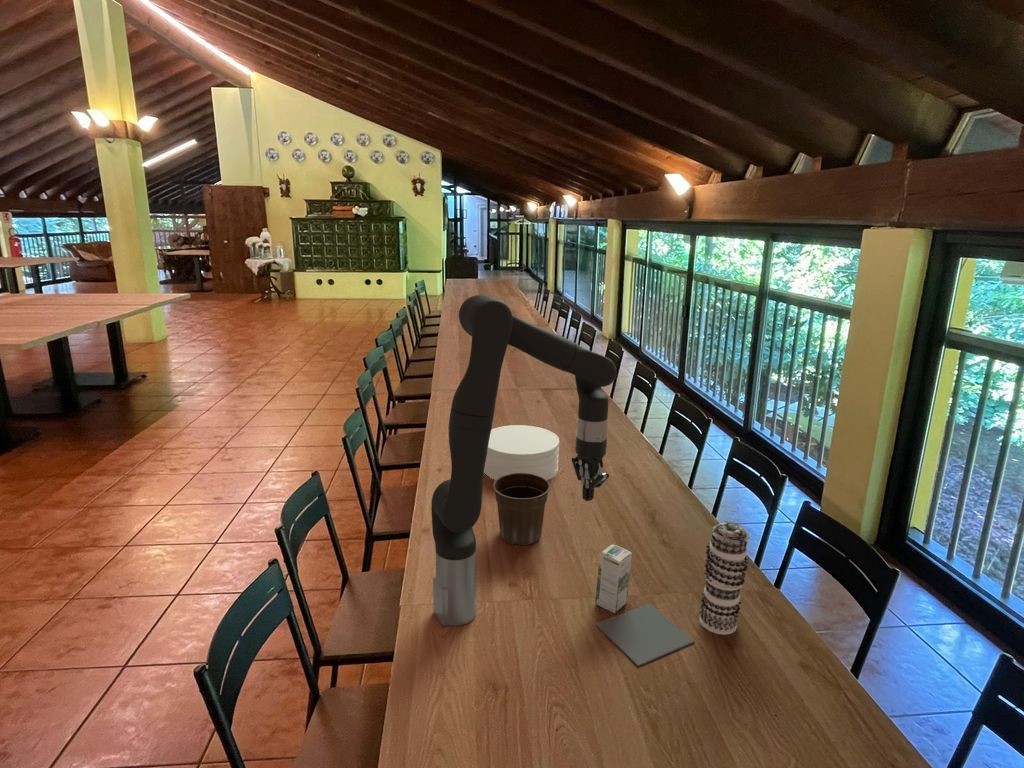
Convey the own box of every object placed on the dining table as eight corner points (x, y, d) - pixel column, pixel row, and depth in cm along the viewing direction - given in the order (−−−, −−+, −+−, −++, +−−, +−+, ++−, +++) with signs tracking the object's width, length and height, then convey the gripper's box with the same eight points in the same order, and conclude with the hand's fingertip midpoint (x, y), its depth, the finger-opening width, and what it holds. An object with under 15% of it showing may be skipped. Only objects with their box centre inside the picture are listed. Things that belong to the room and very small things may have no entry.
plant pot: (517, 556, 169) (519, 504, 164) (481, 533, 181) (481, 483, 176) (559, 537, 179) (561, 486, 175) (522, 515, 191) (523, 468, 186)
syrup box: (607, 593, 154) (610, 542, 150) (627, 603, 150) (632, 551, 146) (594, 604, 150) (598, 552, 145) (616, 614, 146) (620, 561, 142)
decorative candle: (689, 615, 146) (700, 521, 139) (719, 606, 150) (732, 514, 143) (715, 640, 138) (728, 541, 131) (747, 629, 142) (762, 533, 135)
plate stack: (473, 481, 214) (473, 450, 211) (489, 450, 240) (490, 422, 237) (553, 488, 210) (555, 457, 206) (561, 456, 236) (562, 428, 233)
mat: (638, 666, 130) (638, 665, 130) (595, 624, 142) (595, 623, 142) (693, 642, 137) (694, 641, 137) (649, 604, 150) (649, 603, 150)
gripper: (563, 428, 152) (560, 491, 157) (595, 447, 141) (591, 514, 146) (588, 423, 156) (584, 485, 161) (621, 441, 145) (616, 507, 150)
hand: (587, 499), depth 153 cm, fingers closed
